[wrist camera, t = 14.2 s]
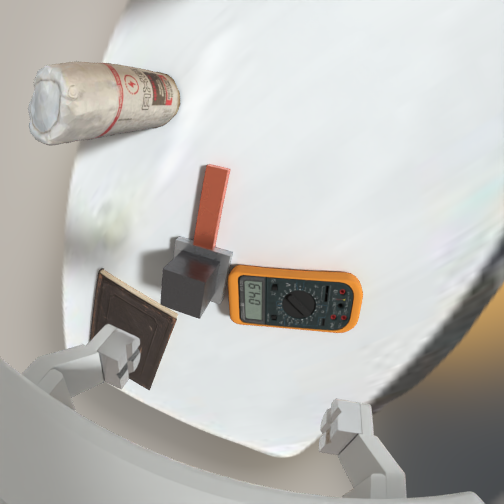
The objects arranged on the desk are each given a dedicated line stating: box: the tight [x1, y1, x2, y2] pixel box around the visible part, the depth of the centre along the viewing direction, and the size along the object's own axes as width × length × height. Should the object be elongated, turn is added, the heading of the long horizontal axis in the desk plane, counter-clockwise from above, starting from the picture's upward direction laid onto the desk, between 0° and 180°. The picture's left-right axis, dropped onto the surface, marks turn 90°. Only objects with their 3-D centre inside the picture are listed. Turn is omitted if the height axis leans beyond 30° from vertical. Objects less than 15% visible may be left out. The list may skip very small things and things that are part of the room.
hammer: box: [173, 164, 233, 304], centre depth 39 cm, size 19×8×5 cm, turn 167°
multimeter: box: [228, 265, 363, 333], centre depth 41 cm, size 9×18×3 cm, turn 91°
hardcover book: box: [90, 268, 178, 390], centre depth 52 cm, size 16×23×2 cm
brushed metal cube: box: [161, 250, 220, 319], centre depth 40 cm, size 6×6×6 cm
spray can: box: [28, 62, 180, 145], centre depth 26 cm, size 8×8×20 cm
